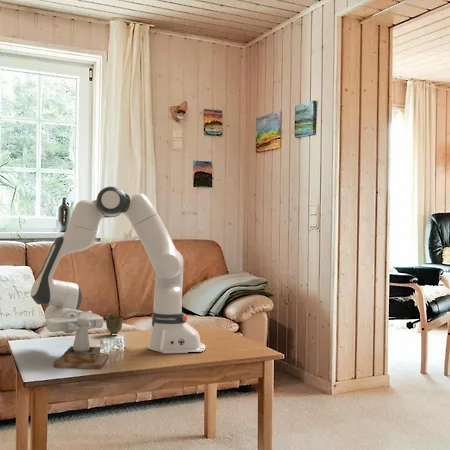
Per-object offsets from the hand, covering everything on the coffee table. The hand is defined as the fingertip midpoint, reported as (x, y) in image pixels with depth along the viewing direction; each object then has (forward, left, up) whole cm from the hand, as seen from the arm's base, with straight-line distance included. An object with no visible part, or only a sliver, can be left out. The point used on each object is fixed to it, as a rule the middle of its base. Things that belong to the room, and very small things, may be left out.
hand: (83, 327), depth 205 cm
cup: (-4, -47, -12) cm, 48 cm away
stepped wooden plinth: (0, -1, -12) cm, 12 cm away
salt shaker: (+1, -1, -10) cm, 10 cm away
